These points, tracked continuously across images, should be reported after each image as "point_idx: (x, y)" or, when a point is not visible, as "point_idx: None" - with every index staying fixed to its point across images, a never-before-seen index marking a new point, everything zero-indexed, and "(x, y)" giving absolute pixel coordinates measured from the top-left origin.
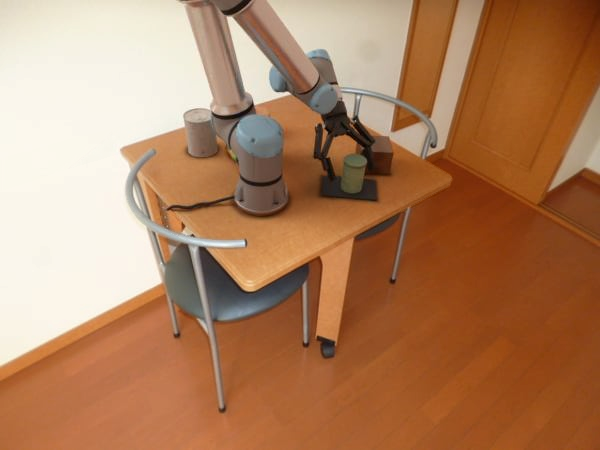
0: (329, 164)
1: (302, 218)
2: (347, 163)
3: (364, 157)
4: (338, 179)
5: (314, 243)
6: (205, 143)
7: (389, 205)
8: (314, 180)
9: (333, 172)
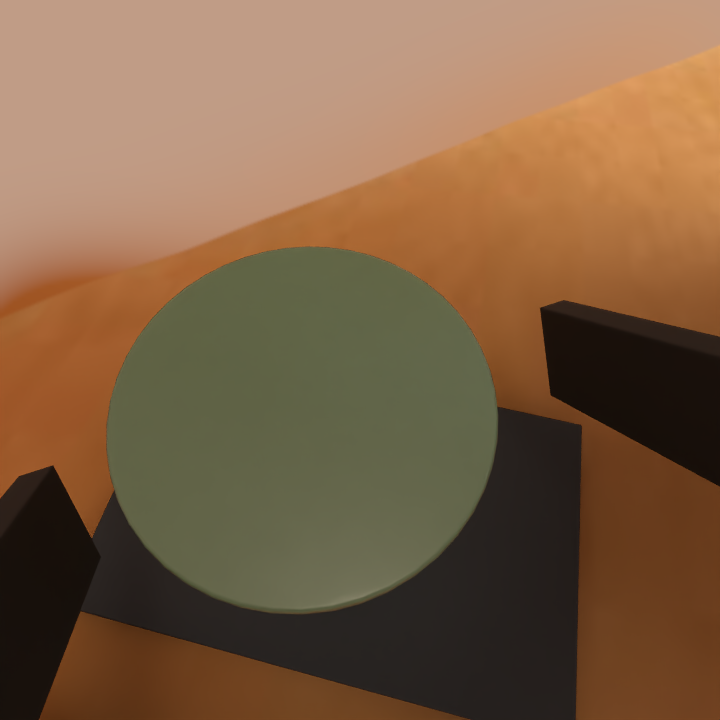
0: (712, 340)
1: (682, 244)
2: (451, 316)
3: (117, 453)
4: (418, 646)
5: (602, 108)
6: None
7: (125, 296)
8: (650, 677)
9: (602, 319)
